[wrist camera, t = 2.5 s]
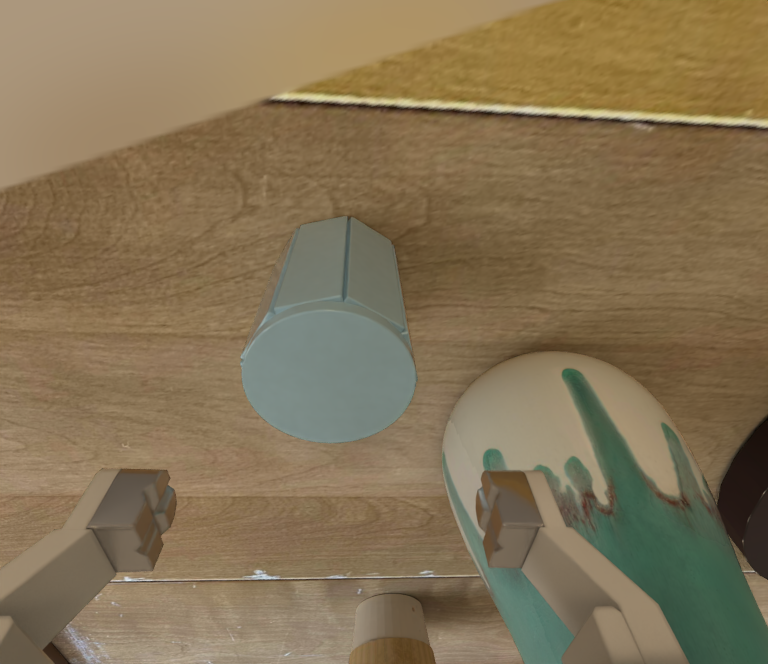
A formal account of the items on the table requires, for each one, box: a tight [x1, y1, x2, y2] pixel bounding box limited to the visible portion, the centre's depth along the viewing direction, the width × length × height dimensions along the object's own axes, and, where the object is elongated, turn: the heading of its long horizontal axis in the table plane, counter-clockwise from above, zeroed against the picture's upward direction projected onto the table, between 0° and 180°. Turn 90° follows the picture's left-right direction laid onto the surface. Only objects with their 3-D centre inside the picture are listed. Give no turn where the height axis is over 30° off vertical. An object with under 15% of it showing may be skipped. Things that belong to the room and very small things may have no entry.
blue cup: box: [240, 216, 418, 443], centre depth 18 cm, size 6×6×8 cm
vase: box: [442, 351, 768, 664], centre depth 19 cm, size 12×12×18 cm
